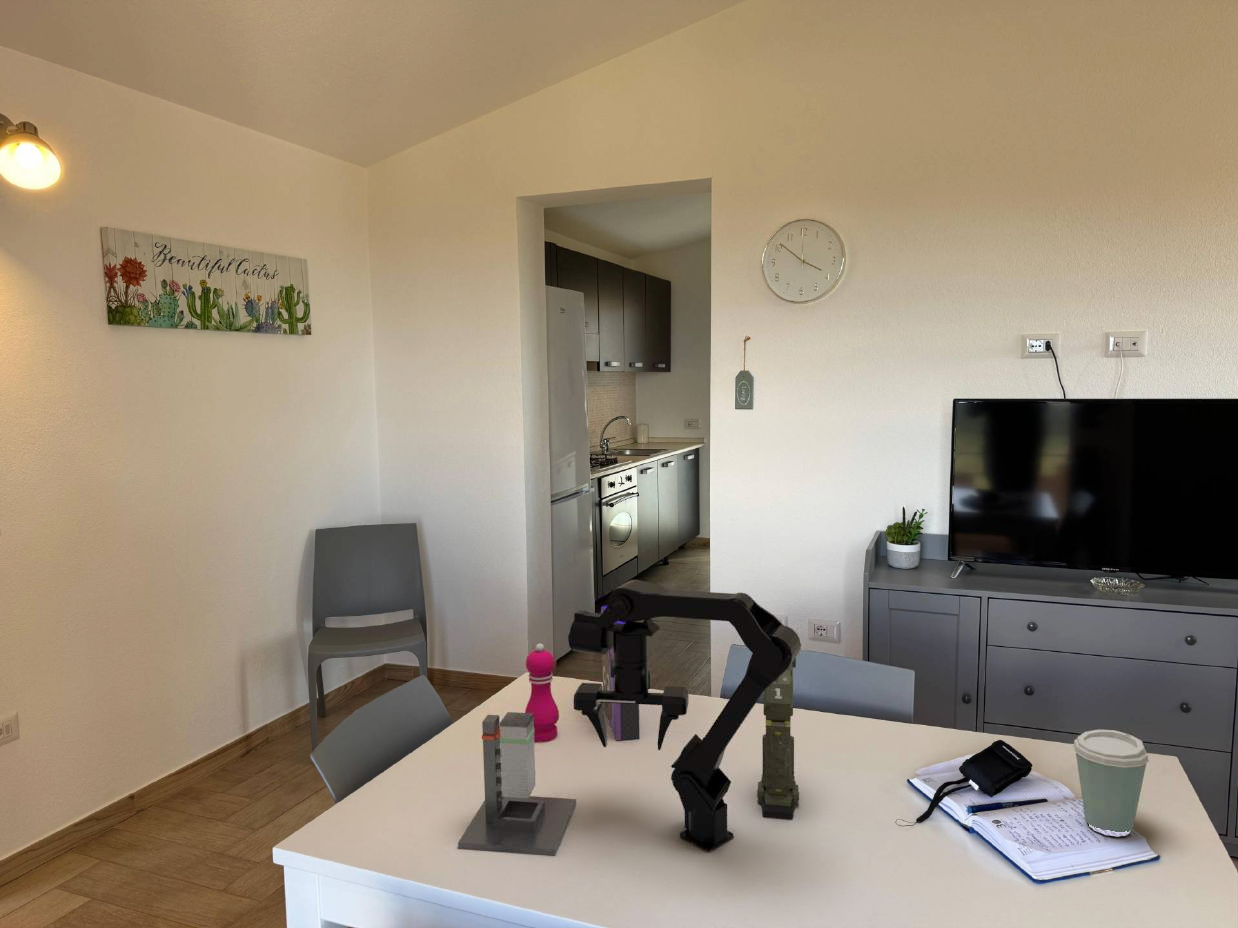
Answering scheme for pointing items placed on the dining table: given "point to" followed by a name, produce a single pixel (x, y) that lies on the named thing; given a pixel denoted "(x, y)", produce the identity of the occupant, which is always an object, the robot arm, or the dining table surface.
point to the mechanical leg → (778, 751)
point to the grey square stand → (513, 810)
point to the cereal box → (619, 704)
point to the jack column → (517, 754)
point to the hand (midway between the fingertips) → (632, 747)
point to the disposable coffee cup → (1110, 777)
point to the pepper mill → (542, 694)
